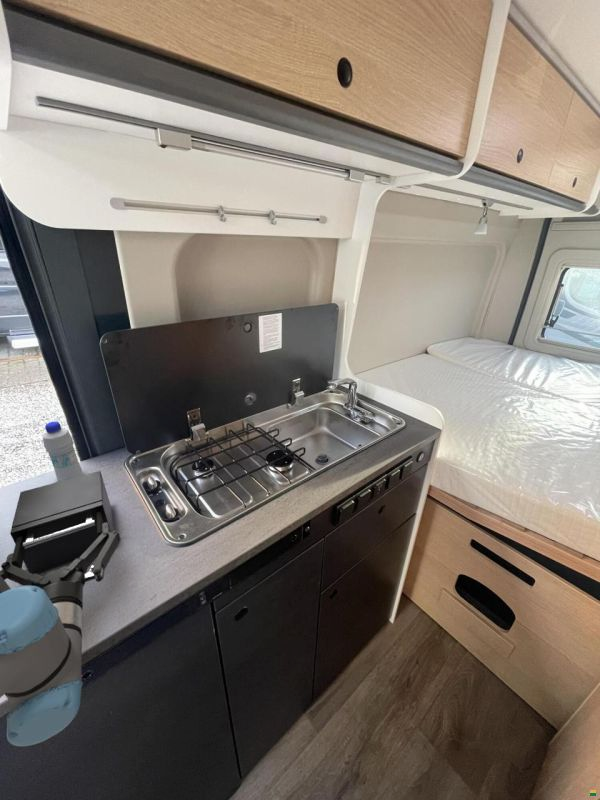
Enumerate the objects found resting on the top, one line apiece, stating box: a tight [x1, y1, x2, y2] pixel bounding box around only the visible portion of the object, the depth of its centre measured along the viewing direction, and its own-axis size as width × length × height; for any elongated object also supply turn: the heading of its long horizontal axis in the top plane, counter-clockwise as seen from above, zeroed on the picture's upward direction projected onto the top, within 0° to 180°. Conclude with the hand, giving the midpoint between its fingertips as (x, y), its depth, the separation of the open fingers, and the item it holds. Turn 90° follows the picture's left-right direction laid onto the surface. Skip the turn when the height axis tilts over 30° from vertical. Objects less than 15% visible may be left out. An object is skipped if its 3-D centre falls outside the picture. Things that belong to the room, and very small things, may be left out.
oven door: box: [9, 501, 112, 575], centre depth 70 cm, size 5×16×13 cm, turn 121°
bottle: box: [42, 421, 84, 482], centre depth 94 cm, size 7×7×20 cm
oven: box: [11, 470, 115, 532], centre depth 77 cm, size 12×16×13 cm
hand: (62, 528), depth 69 cm, fingers open, 13 cm apart
